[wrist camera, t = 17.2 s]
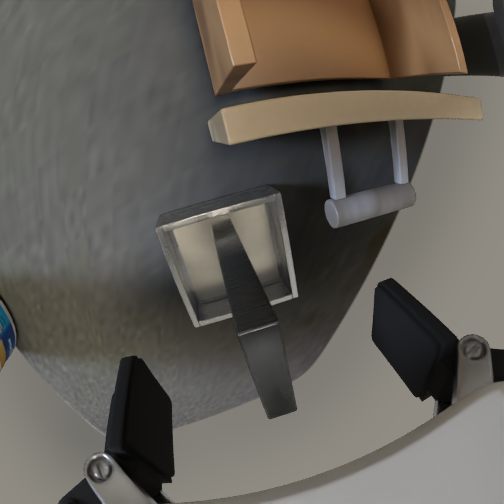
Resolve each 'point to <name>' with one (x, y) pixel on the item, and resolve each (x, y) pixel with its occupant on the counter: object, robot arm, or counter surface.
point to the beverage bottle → (6, 335)
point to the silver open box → (238, 278)
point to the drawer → (333, 78)
